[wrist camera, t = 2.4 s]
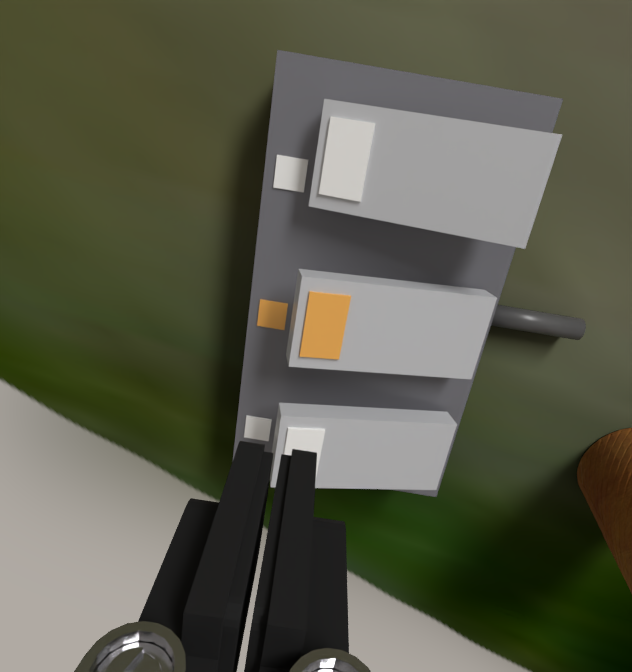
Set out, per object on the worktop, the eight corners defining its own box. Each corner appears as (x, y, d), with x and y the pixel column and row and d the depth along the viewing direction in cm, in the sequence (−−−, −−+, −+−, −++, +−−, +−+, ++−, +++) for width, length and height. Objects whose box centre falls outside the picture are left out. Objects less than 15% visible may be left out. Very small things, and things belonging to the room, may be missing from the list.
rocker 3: (447, 411, 25) (458, 426, 24) (427, 475, 27) (437, 491, 25) (278, 402, 23) (281, 417, 22) (269, 471, 25) (270, 489, 24)
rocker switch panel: (647, 126, 23) (706, 123, 20) (514, 469, 31) (538, 514, 27) (287, 65, 23) (277, 49, 19) (245, 426, 31) (231, 464, 27)
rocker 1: (555, 136, 18) (563, 134, 17) (520, 244, 20) (525, 249, 19) (331, 102, 20) (323, 98, 19) (315, 204, 21) (307, 206, 20)
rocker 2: (484, 289, 22) (498, 298, 21) (460, 368, 24) (472, 380, 23) (298, 268, 21) (302, 277, 19) (286, 354, 22) (289, 368, 21)
